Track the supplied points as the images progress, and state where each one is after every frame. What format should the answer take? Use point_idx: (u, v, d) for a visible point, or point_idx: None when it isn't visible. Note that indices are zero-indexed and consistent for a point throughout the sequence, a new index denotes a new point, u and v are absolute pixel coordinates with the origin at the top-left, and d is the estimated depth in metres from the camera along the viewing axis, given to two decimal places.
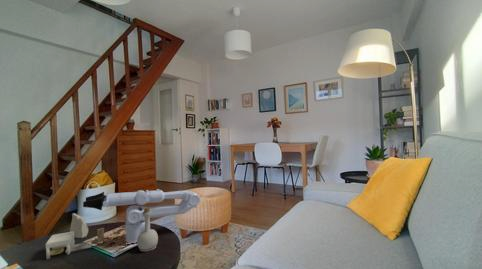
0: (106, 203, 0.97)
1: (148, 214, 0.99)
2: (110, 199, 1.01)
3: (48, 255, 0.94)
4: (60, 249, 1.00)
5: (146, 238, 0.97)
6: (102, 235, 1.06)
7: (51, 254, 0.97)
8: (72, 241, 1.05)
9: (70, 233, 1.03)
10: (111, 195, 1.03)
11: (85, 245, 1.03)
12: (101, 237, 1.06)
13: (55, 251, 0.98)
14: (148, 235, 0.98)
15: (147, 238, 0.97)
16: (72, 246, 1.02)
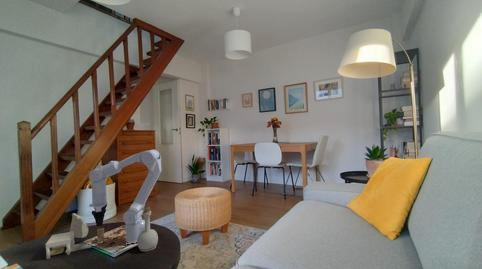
0: (97, 208, 1.00)
1: (148, 214, 0.99)
2: (96, 203, 1.04)
3: (48, 255, 0.94)
4: (60, 249, 1.00)
5: (146, 238, 0.97)
6: (102, 235, 1.06)
7: (51, 254, 0.97)
8: (72, 241, 1.05)
9: (70, 233, 1.03)
10: (93, 202, 1.04)
11: (85, 245, 1.03)
12: (101, 237, 1.06)
13: (55, 251, 0.98)
14: (148, 235, 0.98)
15: (147, 238, 0.97)
16: (72, 246, 1.02)
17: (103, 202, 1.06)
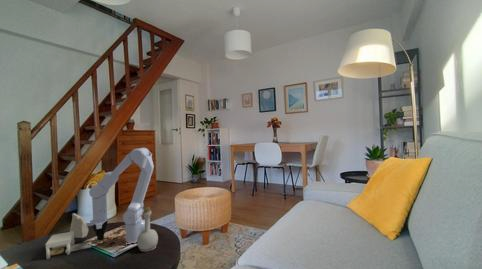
0: (98, 225, 1.00)
1: (148, 214, 0.99)
2: (97, 219, 1.04)
3: (48, 255, 0.94)
4: (60, 249, 1.00)
5: (146, 238, 0.97)
6: None
7: (51, 254, 0.97)
8: (72, 241, 1.05)
9: (70, 233, 1.03)
10: (93, 219, 1.04)
11: (85, 245, 1.03)
12: None
13: (55, 251, 0.98)
14: (148, 235, 0.98)
15: (147, 238, 0.97)
16: (72, 246, 1.02)
17: (104, 218, 1.06)
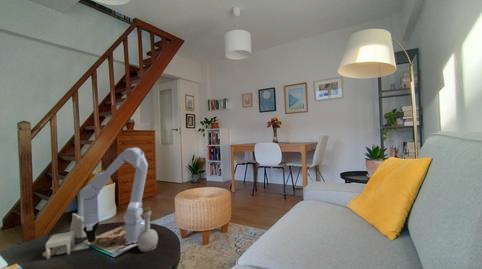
0: (88, 227, 0.99)
1: (148, 214, 0.99)
2: (88, 221, 1.02)
3: (48, 255, 0.94)
4: (54, 250, 0.99)
5: (146, 238, 0.97)
6: None
7: (44, 255, 0.95)
8: (72, 241, 1.05)
9: (70, 233, 1.03)
10: (84, 220, 1.03)
11: (77, 247, 1.02)
12: None
13: None
14: (148, 235, 0.98)
15: (147, 238, 0.97)
16: (63, 248, 1.01)
17: (94, 220, 1.04)
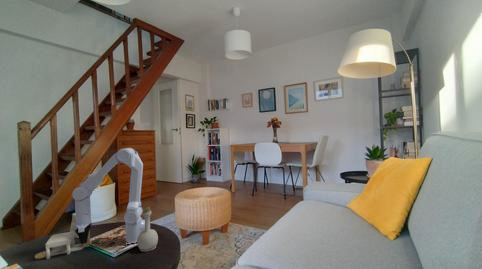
0: (80, 229, 0.97)
1: (148, 214, 0.99)
2: (80, 223, 1.01)
3: (48, 255, 0.94)
4: None
5: (146, 238, 0.97)
6: None
7: (37, 258, 0.94)
8: (72, 241, 1.05)
9: (70, 233, 1.03)
10: (76, 222, 1.01)
11: (70, 248, 1.00)
12: None
13: (41, 254, 0.96)
14: (148, 235, 0.98)
15: (147, 238, 0.97)
16: (56, 249, 1.00)
17: (87, 221, 1.02)
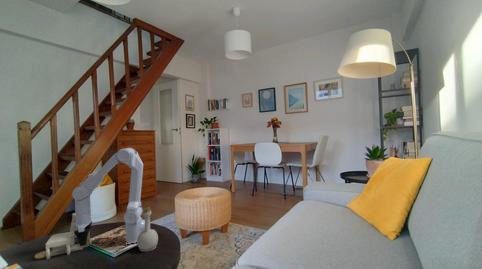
0: (80, 228, 0.97)
1: (148, 214, 0.99)
2: (80, 222, 1.01)
3: (48, 255, 0.94)
4: None
5: (146, 238, 0.97)
6: (87, 238, 1.04)
7: (37, 257, 0.94)
8: (72, 241, 1.05)
9: (70, 233, 1.03)
10: (76, 221, 1.01)
11: (70, 248, 1.00)
12: None
13: (41, 254, 0.96)
14: (148, 235, 0.98)
15: (147, 238, 0.97)
16: (56, 249, 1.00)
17: (87, 221, 1.02)
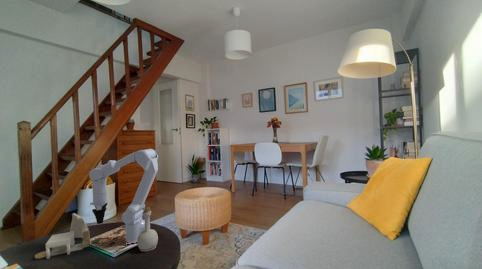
0: (98, 207, 1.03)
1: (148, 214, 0.99)
2: (97, 202, 1.07)
3: (48, 255, 0.94)
4: None
5: (146, 238, 0.97)
6: (87, 238, 1.04)
7: (37, 257, 0.94)
8: (72, 241, 1.05)
9: (70, 233, 1.03)
10: (94, 201, 1.07)
11: (70, 248, 1.00)
12: (86, 240, 1.03)
13: (41, 254, 0.96)
14: (148, 235, 0.98)
15: (147, 238, 0.97)
16: (56, 249, 1.00)
17: (103, 200, 1.08)
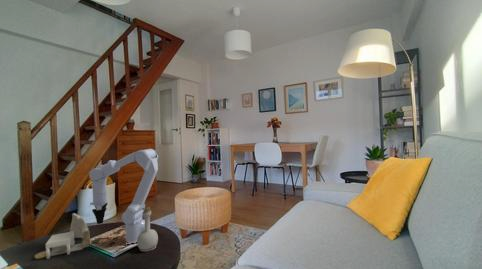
0: (98, 207, 1.03)
1: (148, 214, 0.99)
2: (97, 202, 1.07)
3: (48, 255, 0.94)
4: None
5: (146, 238, 0.97)
6: (87, 238, 1.04)
7: (37, 257, 0.94)
8: (72, 241, 1.05)
9: (70, 233, 1.03)
10: (94, 201, 1.07)
11: (70, 248, 1.00)
12: (86, 240, 1.03)
13: (41, 254, 0.96)
14: (148, 235, 0.98)
15: (147, 238, 0.97)
16: (56, 249, 1.00)
17: (103, 200, 1.08)
